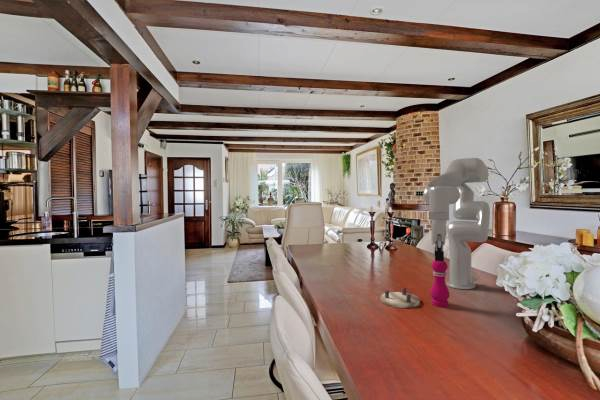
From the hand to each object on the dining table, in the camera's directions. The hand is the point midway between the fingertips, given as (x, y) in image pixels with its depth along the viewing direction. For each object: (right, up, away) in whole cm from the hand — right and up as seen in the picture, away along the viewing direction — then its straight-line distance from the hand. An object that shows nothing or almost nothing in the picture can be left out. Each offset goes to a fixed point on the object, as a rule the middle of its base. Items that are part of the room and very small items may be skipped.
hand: (439, 258), depth 130 cm
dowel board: (-14, -19, +5) cm, 24 cm away
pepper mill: (+1, -19, +1) cm, 19 cm away
